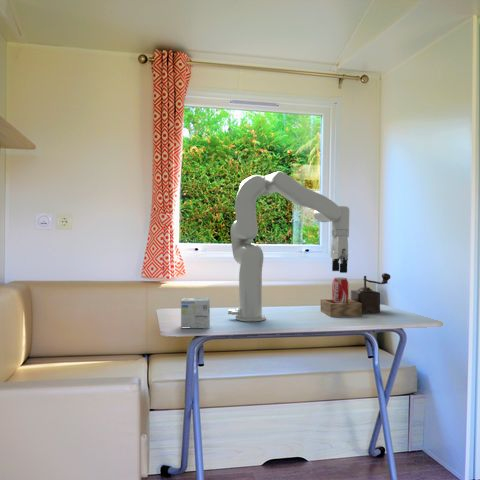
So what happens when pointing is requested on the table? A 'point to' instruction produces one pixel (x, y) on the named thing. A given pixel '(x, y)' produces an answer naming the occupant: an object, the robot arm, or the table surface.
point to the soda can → (340, 290)
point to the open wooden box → (341, 308)
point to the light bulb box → (195, 312)
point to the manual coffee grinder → (369, 296)
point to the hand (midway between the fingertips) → (339, 271)
